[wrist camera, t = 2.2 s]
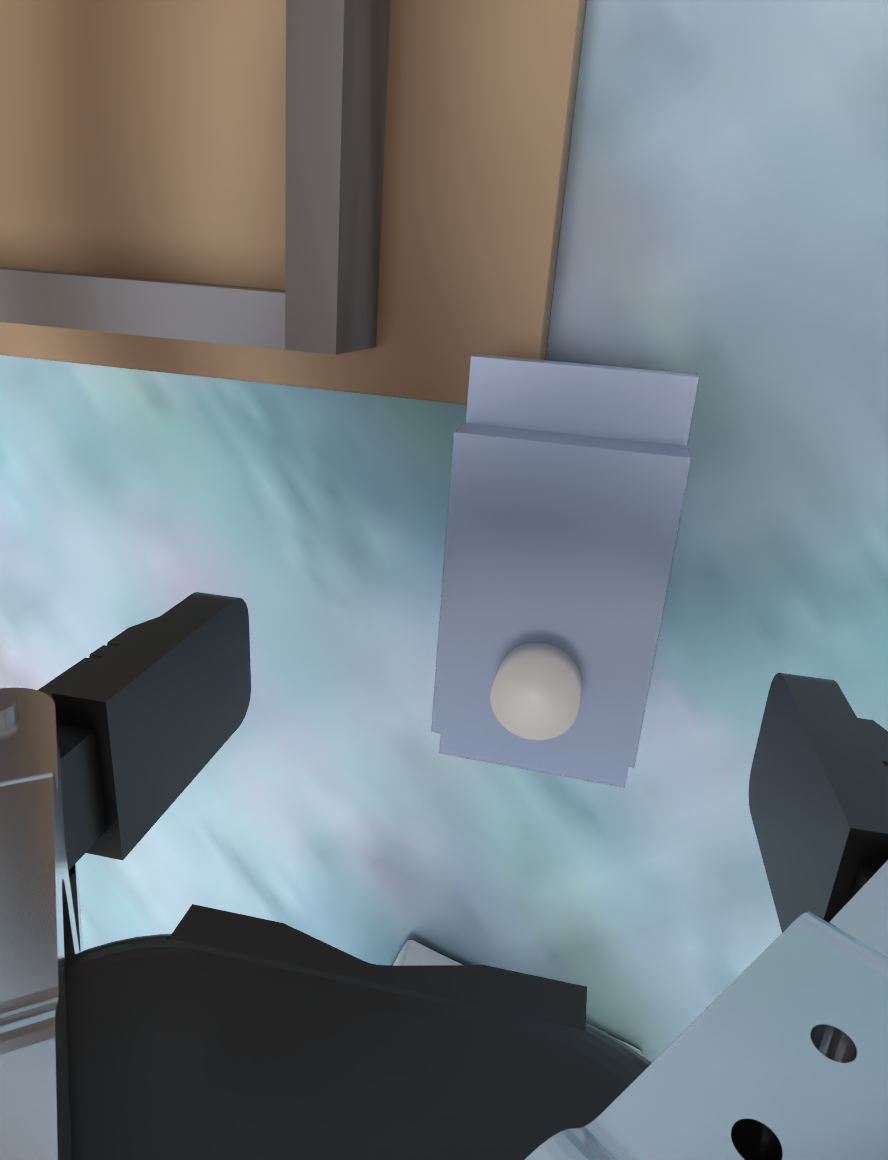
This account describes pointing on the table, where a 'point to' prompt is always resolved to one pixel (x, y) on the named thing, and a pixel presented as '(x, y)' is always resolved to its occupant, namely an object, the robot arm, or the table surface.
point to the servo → (558, 562)
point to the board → (285, 186)
